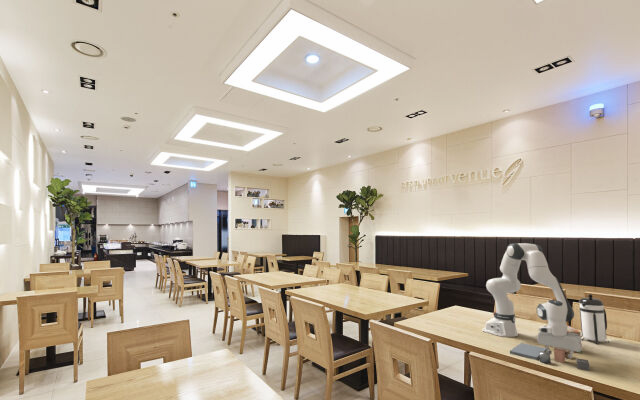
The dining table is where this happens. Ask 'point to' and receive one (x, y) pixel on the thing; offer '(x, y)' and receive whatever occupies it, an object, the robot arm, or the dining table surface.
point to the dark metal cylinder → (544, 357)
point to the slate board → (527, 351)
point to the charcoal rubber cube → (583, 364)
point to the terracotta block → (559, 355)
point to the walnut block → (566, 352)
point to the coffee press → (593, 319)
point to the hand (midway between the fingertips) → (559, 355)
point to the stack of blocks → (572, 330)
